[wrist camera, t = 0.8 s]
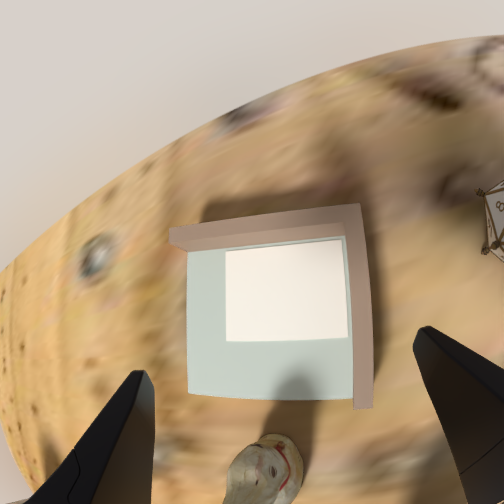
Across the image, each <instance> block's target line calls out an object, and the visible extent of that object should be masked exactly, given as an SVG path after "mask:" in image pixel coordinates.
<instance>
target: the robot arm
mask: <svg viewBox="0 0 504 504" xmlns="http://www.w3.org/2000/svg"><path fill="white" fill-rule="evenodd" d="M413 352H414V355H415V358H416V361H417V363H418V366H419V369H420V372H421V375H422V379H423V381H424V384H425V387H426V389H427V392H428V394H429V396H430V399H431V401H432V403H433V406H434V408H435V410H436V413H437V415H438V418H439V420H440V423H441V425H442V428H443V430H444V433H445V436H446V438H447V441H448V443H449V446H450V449H451V452H452V455H453V457H454V460H455V463H456V466H457V469H458V472H459V474H460V475H459V476H460V479H461V482H462V485H463V488H464V492H465V495H466V498H467V502H468V504H497V503H499V502H501V501H503V500H504V369H502V368H501V367H499V366H497V365H496V364H494V363H492V362H491V361H489V360H488V359H486V358H484V357H483V356H481V355H479V354H477V353H476V352H474V351H472V350H471V349H469V348H467V347H466V346H464V345H462V344H461V343H459V342H457V341H456V340H454V339H452V338H450V337H449V336H447V335H445V334H444V333H442V332H440V331H438V330H437V329H435V328H433V327H431V326H425V327H422V328H420V329H419V330H418V332H417V335H416V337H415V340H414V343H413ZM154 443H155V393H154V386H153V384H152V382H151V380H150V378H149V376H148V374H147V372H146V371H145V370H133V371H132V372H131V373H130V374H129V375H128V377H127V378H126V379H125V381H124V382H123V383H122V384H121V386H120V387H119V388H118V390H117V391H116V392H115V394H114V395H113V396H112V397H111V399H110V400H109V401H108V403H107V404H106V405H105V407H104V408H103V409H102V411H101V412H100V413H99V414H98V416H97V417H96V418H95V420H94V421H93V422H92V424H91V425H90V426H89V428H88V429H87V430H86V432H85V433H84V434H83V436H82V437H81V438H80V440H79V441H78V442H77V444H76V445H75V446H74V449H72V450H71V452H70V453H69V454H68V456H67V457H66V458H65V460H64V461H63V462H62V463H61V465H60V466H59V467H58V468H57V469H56V471H55V472H54V473H53V474H52V475H51V476H50V477H49V478H48V479H47V480H46V482H45V483H44V484H43V485H42V486H41V487H40V488H39V489H38V490H37V491H36V492H35V493H34V494H33V495H32V496H31V497H30V498H29V499H28V500H27V501H25V502H24V503H22V504H151V489H152V470H153V455H154ZM502 504H504V502H503V503H502Z"/></svg>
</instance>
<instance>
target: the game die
mask: <svg viewBox="0 0 504 504" xmlns="http://www.w3.org/2000/svg"><path fill="white" fill-rule="evenodd" d="M474 190H475V192H476V193H477V195H479V196H482V197H483V198H484V205H485V214H486V224H487V236H488V247H485V248H483V251H482V253H481V254H484V255H487V253H489V251H491V252H492V253H493V254H494V255H495V256H497V257H498V258H499V259H500V260H501V261H502V262H504V180H503V181H502V182H500V183H499V184H497V185H496V186H494V187H493V188H492V189H490V190H489V191H487V192H486V193H484V192H483V190H481V189H480V188H479V189H474Z"/></svg>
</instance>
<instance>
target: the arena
mask: <svg viewBox="0 0 504 504" xmlns="http://www.w3.org/2000/svg"><path fill="white" fill-rule="evenodd" d="M169 244H171V245H174V246H176V247H178V248H180V249H182V250H184V251H186V252H188V263H187V369H188V393H191V394H199V395H208V396H218V397H229V398H244V399H263V400H330V399H349V398H353V410H356V409H369V408H373V325H372V306H371V292H370V280H369V269H368V259H367V250H366V242H365V234H364V227H363V219H362V213H361V206H360V203H353V204H343V205H334V206H325V207H317V208H308V209H300V210H292V211H284V212H276V213H269V214H261V215H254V216H247V217H239V218H232V219H225V220H219V221H212V222H205V223H199V224H192V225H186V226H180V227H173V228H169Z"/></svg>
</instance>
